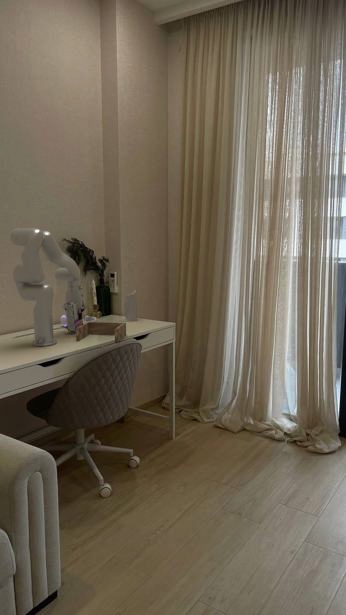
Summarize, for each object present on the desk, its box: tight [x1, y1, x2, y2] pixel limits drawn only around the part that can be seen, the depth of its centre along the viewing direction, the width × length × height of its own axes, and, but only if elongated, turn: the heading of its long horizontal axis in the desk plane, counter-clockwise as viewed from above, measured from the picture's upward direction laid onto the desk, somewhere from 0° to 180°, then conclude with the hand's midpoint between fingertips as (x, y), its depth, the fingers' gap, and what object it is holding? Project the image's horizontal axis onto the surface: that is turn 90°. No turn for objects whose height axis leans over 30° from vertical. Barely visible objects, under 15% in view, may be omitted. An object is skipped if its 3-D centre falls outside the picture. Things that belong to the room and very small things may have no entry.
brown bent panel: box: [75, 321, 127, 343], centre depth 248 cm, size 19×22×7 cm
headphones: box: [60, 311, 104, 328], centre depth 281 cm, size 22×8×22 cm
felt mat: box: [65, 330, 76, 336], centre depth 264 cm, size 12×8×1 cm, turn 171°
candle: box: [115, 290, 138, 322], centre depth 299 cm, size 7×14×20 cm, turn 84°
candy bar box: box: [65, 302, 84, 332], centre depth 262 cm, size 11×5×16 cm, turn 169°
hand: (75, 319), depth 263 cm, fingers open, 5 cm apart
